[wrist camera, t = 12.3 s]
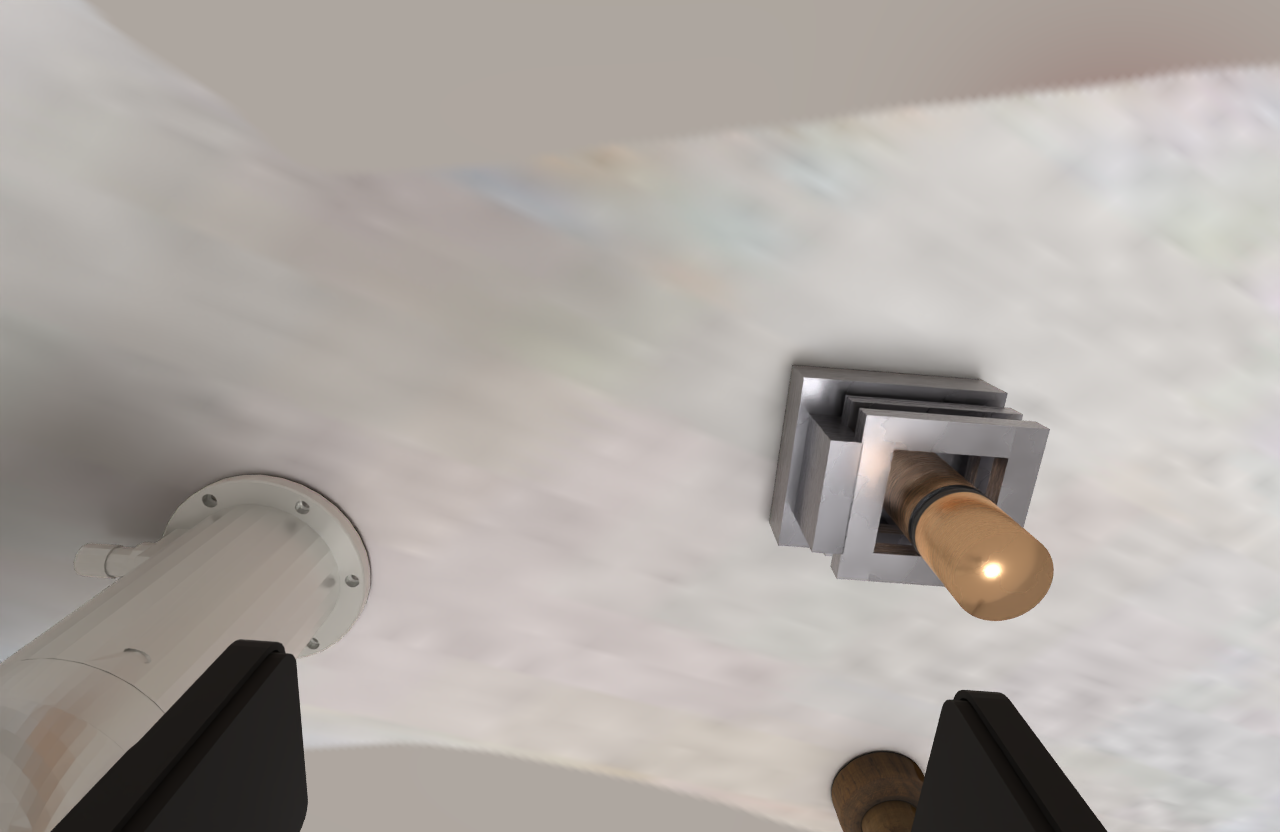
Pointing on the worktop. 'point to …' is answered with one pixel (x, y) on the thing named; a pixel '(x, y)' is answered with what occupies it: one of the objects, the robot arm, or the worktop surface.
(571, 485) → the worktop surface
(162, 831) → the robot arm
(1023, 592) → the copper tube
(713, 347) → the worktop surface
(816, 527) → the bracket
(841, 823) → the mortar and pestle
